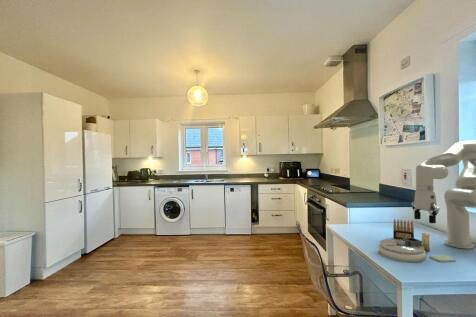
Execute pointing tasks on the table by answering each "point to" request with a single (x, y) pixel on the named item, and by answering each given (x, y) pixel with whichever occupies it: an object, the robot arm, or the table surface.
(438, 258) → the mat
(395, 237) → the ammunition clip
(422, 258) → the chuck housing
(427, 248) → the brass rounded cylinder
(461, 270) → the table surface
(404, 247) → the grey round shallow disc
